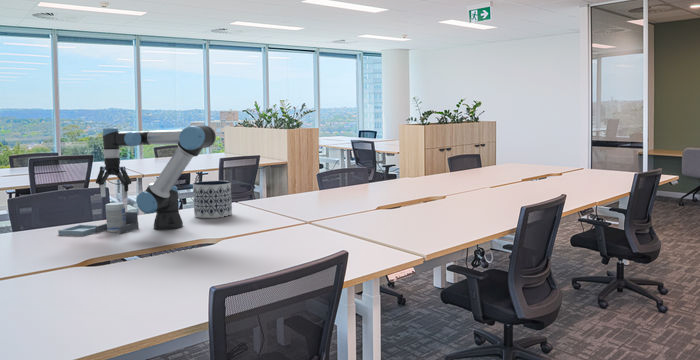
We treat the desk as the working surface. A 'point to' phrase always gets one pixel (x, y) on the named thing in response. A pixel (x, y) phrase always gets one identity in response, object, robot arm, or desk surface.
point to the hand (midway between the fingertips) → (114, 197)
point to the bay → (130, 225)
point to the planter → (212, 199)
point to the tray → (78, 230)
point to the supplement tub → (115, 216)
